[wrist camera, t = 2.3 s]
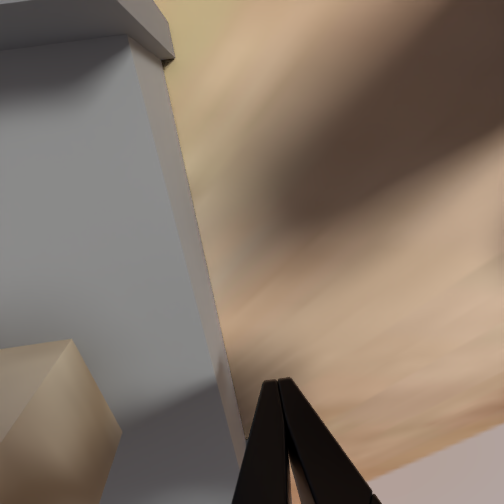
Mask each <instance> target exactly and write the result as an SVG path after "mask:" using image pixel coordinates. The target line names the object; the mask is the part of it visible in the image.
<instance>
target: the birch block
mask: <svg viewBox="0 0 504 504" xmlns="http://www.w3.org/2000/svg"><path fill="white" fill-rule="evenodd" d="M121 435H122V430H121V428H120V426H119V424H118V423H117V421H116V419H115V417H114V415H113V413H112V412H111V410H110V408H109V406H108V404H107V402H106V401H105V399H104V397H103V395H102V393H101V391H100V389H99V388H98V386H97V384H96V382H95V380H94V378H93V377H92V375H91V373H90V371H89V369H88V367H87V366H86V364H85V362H84V360H83V358H82V356H81V355H80V353H79V351H78V349H77V347H76V345H75V343H74V342H73V340H72V339H67V340H60V341H53V342H46V343H39V344H32V345H25V346H18V347H12V348H5V349H0V504H99V503H100V499H101V496H102V493H103V490H104V487H105V484H106V481H107V478H108V475H109V472H110V469H111V466H112V463H113V460H114V457H115V454H116V451H117V448H118V444H119V441H120V438H121Z"/></svg>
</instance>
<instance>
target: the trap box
mask: <svg viewBox="0 0 504 504" xmlns="http://www.w3.org/2000/svg"><path fill="white" fill-rule="evenodd" d="M173 58H175V54H174V49H173V44H172V39H171V34H170V29H169V24H168V21H167V20H166V18H165V17H164V15H163V14H162V13H161V11H160V10H159V8H158V7H157V5H156V4H155V2H154V1H153V0H0V349H5V348H12V347H18V346H25V345H32V344H39V343H46V342H53V341H60V340H67V339H72V340H73V342H74V343H75V345H76V347H77V349H78V351H79V353H80V355H81V356H82V358H83V360H84V362H85V364H86V366H87V367H88V369H89V371H90V373H91V375H92V377H93V378H94V380H95V382H96V384H97V386H98V388H99V389H100V391H101V393H102V395H103V397H104V399H105V401H106V402H107V404H108V406H109V408H110V410H111V412H112V413H113V415H114V417H115V419H116V421H117V423H118V424H119V426H120V428H121V430H122V435H121V438H120V441H119V444H118V448H117V451H116V454H115V457H114V460H113V463H112V466H111V469H110V472H109V475H108V478H107V481H106V484H105V487H104V490H103V493H102V496H101V499H100V503H99V504H231V502H232V499H233V495H234V491H235V487H236V483H237V480H238V476H239V472H240V468H241V464H242V460H243V457H244V453H245V449H246V445H247V441H248V440H245V436H244V431H243V427H242V422H241V418H240V413H239V409H238V404H237V400H236V395H235V391H234V386H233V382H232V377H231V373H230V368H229V364H228V359H227V355H226V350H225V346H224V341H223V337H222V332H221V328H220V323H219V319H218V314H217V310H216V305H215V301H214V296H213V292H212V287H211V283H210V278H209V274H208V269H207V265H206V260H205V256H204V251H203V247H202V242H201V238H200V233H199V229H198V224H197V220H196V215H195V211H194V206H193V202H192V197H191V193H190V188H189V184H188V179H187V175H186V170H185V166H184V161H183V157H182V152H181V148H180V143H179V139H178V134H177V130H176V125H175V121H174V116H173V112H172V107H171V103H170V98H169V94H168V89H167V85H166V80H165V76H164V71H163V67H162V62H161V60H165V59H173Z"/></svg>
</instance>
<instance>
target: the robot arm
mask: <svg viewBox="0 0 504 504" xmlns="http://www.w3.org/2000/svg"><path fill="white" fill-rule="evenodd" d="M288 454H289V456H288ZM289 459H290V464H291V468H292V471H293V475H294V479H295V482H296V486H297V490H298V493H299V497H300V501H301V504H382V503H381V502H380V500H379V499H378V498H377V496H376V495H375V494H372V490H371V488H370V487H369V485H368V484H367V483H366V481H365V480H364V478H363V477H362V476H361V474H360V473H359V471H358V470H357V469H356V467H355V466H354V465H353V463H352V462H351V460H350V459H349V458H348V456H347V455H346V453H345V452H344V451H343V449H342V448H341V446H340V445H339V444H338V442H337V441H336V439H335V438H334V437H333V435H332V434H331V432H330V431H329V430H328V428H327V427H326V426H325V424H324V423H323V421H322V420H321V419H320V417H319V416H318V414H317V413H316V412H315V410H314V409H313V407H312V406H311V405H310V403H309V402H308V400H307V399H306V398H305V396H304V395H303V394H302V392H301V391H300V389H299V388H298V387H297V385H296V384H295V382H294V381H293V380H292V379H291V378H290V377H286V378H279V379H278V380H275V379H273V380H266V381H264V382H263V384H262V388H261V392H260V395H259V399H258V403H257V407H256V411H255V415H254V418H253V422H252V426H251V430H250V434H249V437H248V441H247V445H246V449H245V453H244V457H243V460H242V464H241V468H240V472H239V476H238V480H237V483H236V487H235V491H234V495H233V499H232V502H231V504H292V498H291V481H290V466H289Z"/></svg>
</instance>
